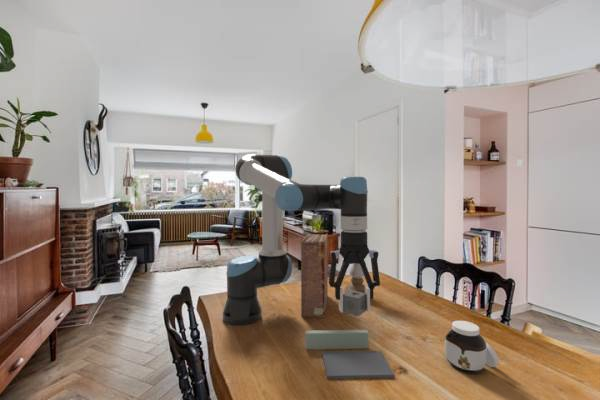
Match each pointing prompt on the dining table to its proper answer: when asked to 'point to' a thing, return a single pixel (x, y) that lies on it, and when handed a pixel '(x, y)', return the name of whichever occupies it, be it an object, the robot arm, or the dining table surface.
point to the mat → (356, 364)
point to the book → (314, 275)
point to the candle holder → (356, 279)
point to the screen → (336, 339)
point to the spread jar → (468, 348)
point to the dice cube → (354, 303)
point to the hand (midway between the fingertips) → (354, 310)
